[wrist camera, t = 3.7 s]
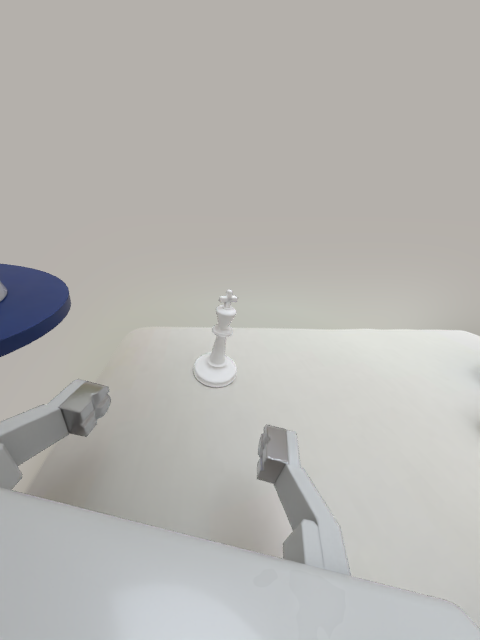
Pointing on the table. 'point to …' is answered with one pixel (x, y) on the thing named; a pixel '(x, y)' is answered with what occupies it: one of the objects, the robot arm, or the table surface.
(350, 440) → the table surface
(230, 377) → the chess piece
